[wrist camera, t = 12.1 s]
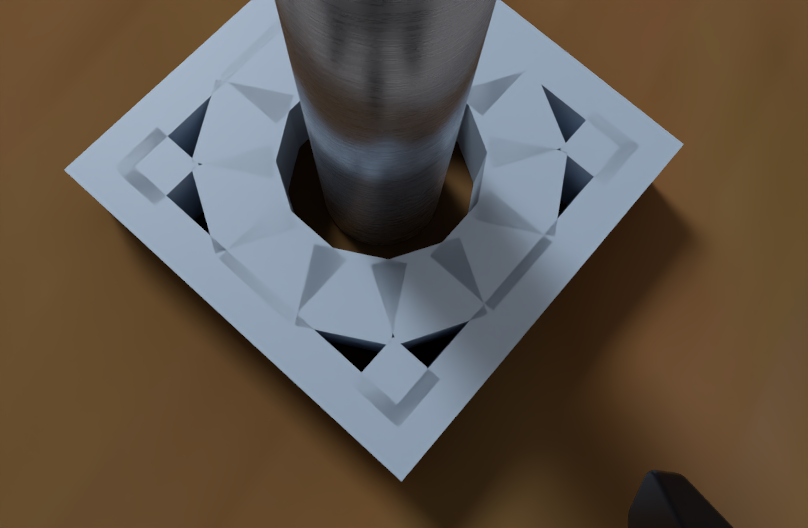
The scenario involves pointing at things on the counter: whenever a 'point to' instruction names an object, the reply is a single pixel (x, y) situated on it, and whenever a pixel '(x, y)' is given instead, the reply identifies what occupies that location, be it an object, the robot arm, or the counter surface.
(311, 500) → the counter surface
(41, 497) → the counter surface
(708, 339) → the counter surface
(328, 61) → the round bit
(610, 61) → the counter surface
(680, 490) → the robot arm
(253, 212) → the holder
